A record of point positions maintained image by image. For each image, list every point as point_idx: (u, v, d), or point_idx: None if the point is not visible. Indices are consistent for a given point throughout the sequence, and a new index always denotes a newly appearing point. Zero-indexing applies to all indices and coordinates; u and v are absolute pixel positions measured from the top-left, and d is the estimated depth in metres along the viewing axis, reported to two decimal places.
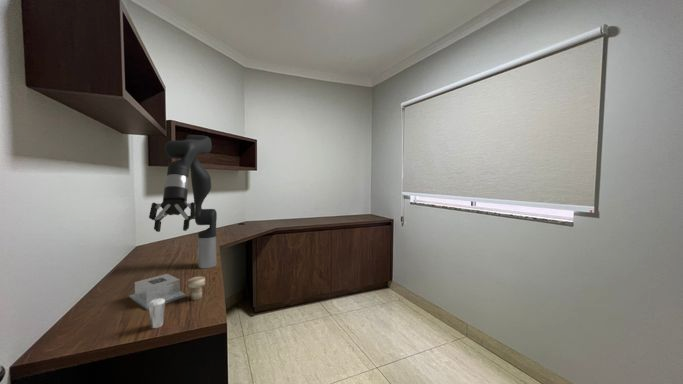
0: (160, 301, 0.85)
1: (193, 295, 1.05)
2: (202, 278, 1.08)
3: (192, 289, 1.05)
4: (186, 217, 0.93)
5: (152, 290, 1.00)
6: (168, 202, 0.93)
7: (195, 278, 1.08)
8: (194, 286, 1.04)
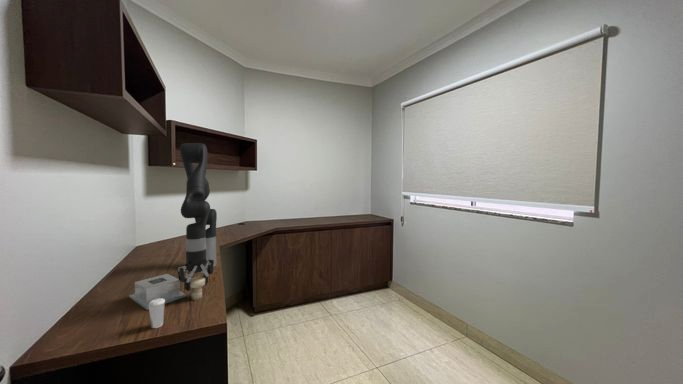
0: (160, 301, 0.85)
1: (193, 295, 1.05)
2: (202, 278, 1.08)
3: (192, 289, 1.05)
4: (207, 274, 1.09)
5: (152, 290, 1.00)
6: (193, 263, 1.05)
7: (195, 278, 1.08)
8: (194, 286, 1.04)
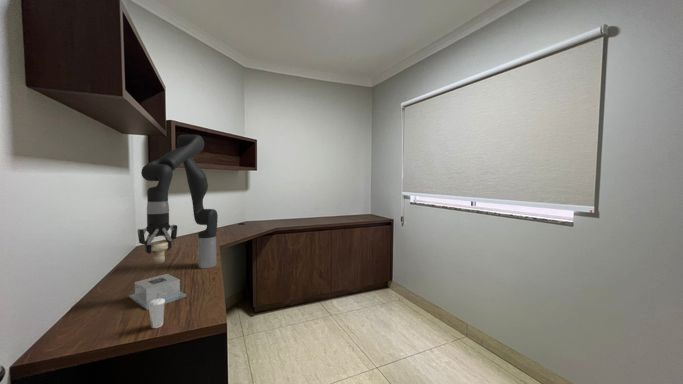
0: (160, 301, 0.85)
1: (155, 258, 1.05)
2: (165, 242, 1.08)
3: (154, 252, 1.05)
4: (170, 239, 1.09)
5: (152, 290, 1.00)
6: (154, 226, 1.04)
7: (157, 242, 1.08)
8: (155, 249, 1.04)
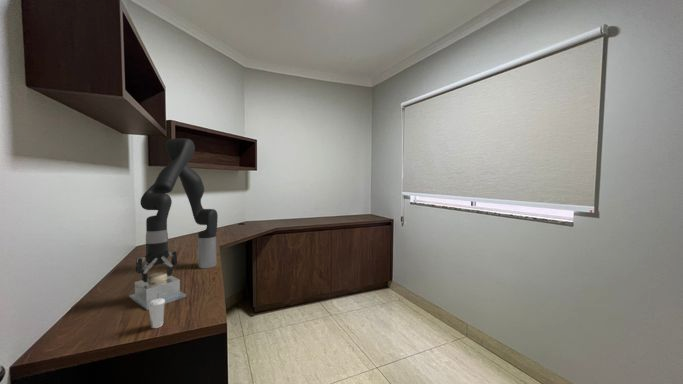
0: (160, 301, 0.85)
1: None
2: (164, 274, 1.08)
3: None
4: (171, 265, 1.10)
5: (152, 290, 1.00)
6: (153, 255, 1.05)
7: (157, 274, 1.08)
8: (154, 281, 1.04)
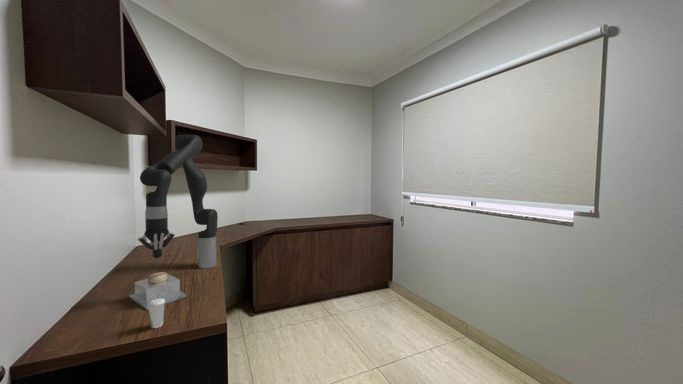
0: (160, 301, 0.85)
1: None
2: (164, 274, 1.08)
3: None
4: (160, 247, 1.07)
5: (152, 290, 1.00)
6: (153, 231, 1.04)
7: (157, 274, 1.08)
8: (154, 281, 1.04)
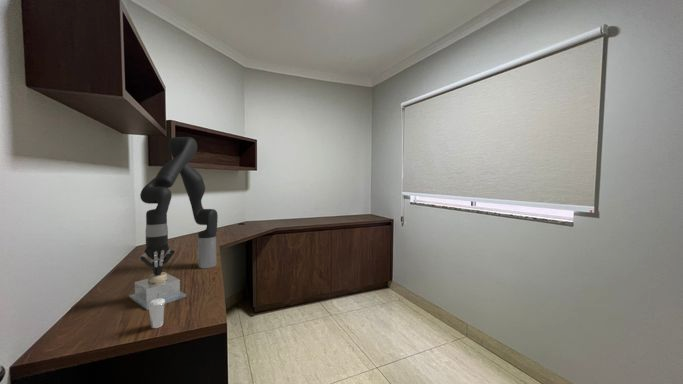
0: (160, 301, 0.85)
1: None
2: (164, 274, 1.08)
3: None
4: (160, 264, 1.07)
5: (152, 290, 1.00)
6: (153, 249, 1.05)
7: None
8: (154, 281, 1.04)
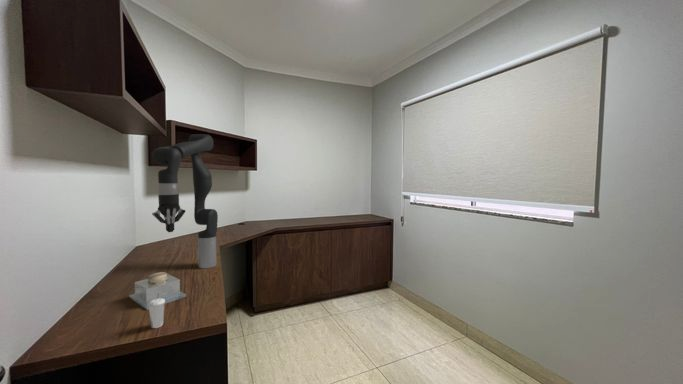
0: (160, 301, 0.85)
1: None
2: (164, 274, 1.08)
3: None
4: (173, 221, 1.13)
5: (152, 290, 1.00)
6: (166, 206, 1.11)
7: (157, 274, 1.08)
8: (154, 281, 1.04)
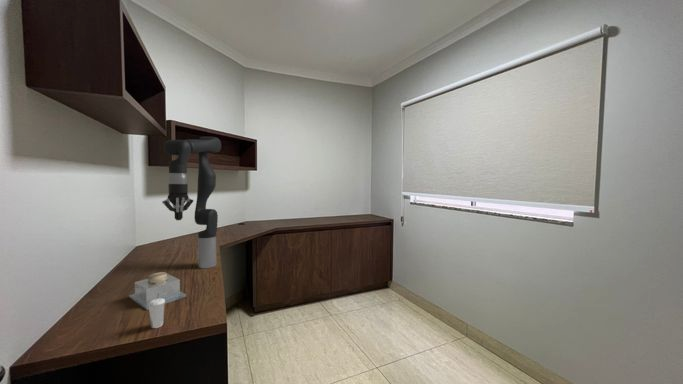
0: (160, 301, 0.85)
1: None
2: (164, 274, 1.08)
3: None
4: (181, 210, 1.19)
5: (152, 290, 1.00)
6: (175, 195, 1.16)
7: (157, 274, 1.08)
8: (154, 281, 1.04)
